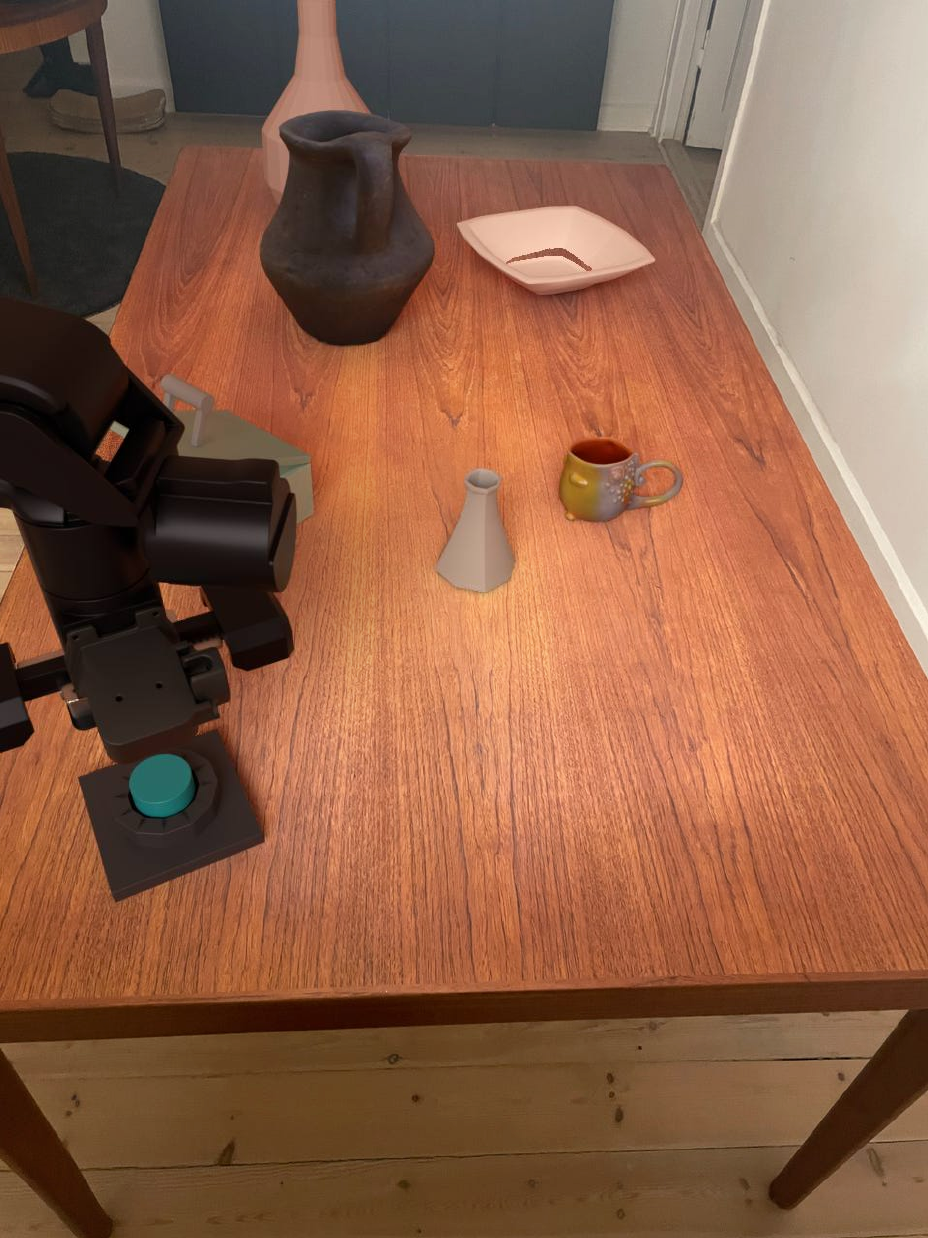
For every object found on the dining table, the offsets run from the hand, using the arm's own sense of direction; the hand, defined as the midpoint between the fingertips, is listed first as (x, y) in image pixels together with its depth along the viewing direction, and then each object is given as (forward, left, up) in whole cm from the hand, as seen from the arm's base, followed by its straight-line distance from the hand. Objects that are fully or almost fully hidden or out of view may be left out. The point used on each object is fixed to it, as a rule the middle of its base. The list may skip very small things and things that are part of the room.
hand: (150, 747), depth 58 cm
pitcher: (+40, +60, -8) cm, 73 cm away
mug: (+49, +16, -8) cm, 52 cm away
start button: (0, 0, -5) cm, 5 cm away
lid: (+13, +30, +1) cm, 33 cm away
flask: (+32, +14, -8) cm, 36 cm away
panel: (0, 0, -8) cm, 8 cm away
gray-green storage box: (+13, +30, -8) cm, 34 cm away
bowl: (+71, +63, -8) cm, 96 cm away
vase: (+50, +93, -8) cm, 105 cm away
